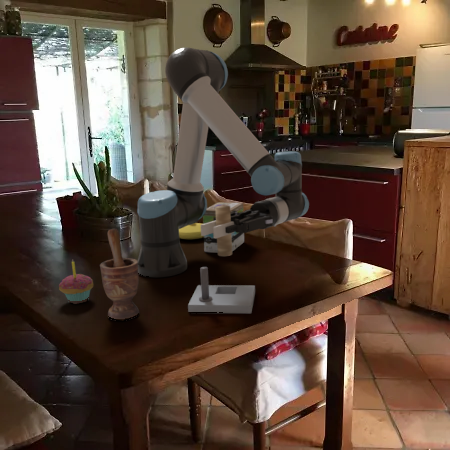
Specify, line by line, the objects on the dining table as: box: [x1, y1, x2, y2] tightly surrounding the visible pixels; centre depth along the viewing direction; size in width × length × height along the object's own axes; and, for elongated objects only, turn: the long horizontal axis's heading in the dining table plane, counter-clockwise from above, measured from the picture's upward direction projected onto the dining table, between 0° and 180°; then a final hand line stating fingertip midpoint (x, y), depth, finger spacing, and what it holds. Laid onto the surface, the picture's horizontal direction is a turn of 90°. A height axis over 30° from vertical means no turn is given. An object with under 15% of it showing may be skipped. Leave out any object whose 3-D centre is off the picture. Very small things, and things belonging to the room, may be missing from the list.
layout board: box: [187, 266, 256, 314], centre depth 119 cm, size 15×13×10 cm
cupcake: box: [58, 259, 94, 301], centre depth 124 cm, size 9×8×12 cm
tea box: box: [202, 201, 245, 254], centre depth 166 cm, size 15×10×15 cm
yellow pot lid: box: [179, 222, 204, 240], centre depth 182 cm, size 16×16×7 cm
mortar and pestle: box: [99, 228, 140, 319], centre depth 114 cm, size 12×9×20 cm
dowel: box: [215, 205, 233, 257], centre depth 119 cm, size 4×4×12 cm
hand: (208, 231), depth 114 cm, fingers closed on dowel, 3 cm apart
